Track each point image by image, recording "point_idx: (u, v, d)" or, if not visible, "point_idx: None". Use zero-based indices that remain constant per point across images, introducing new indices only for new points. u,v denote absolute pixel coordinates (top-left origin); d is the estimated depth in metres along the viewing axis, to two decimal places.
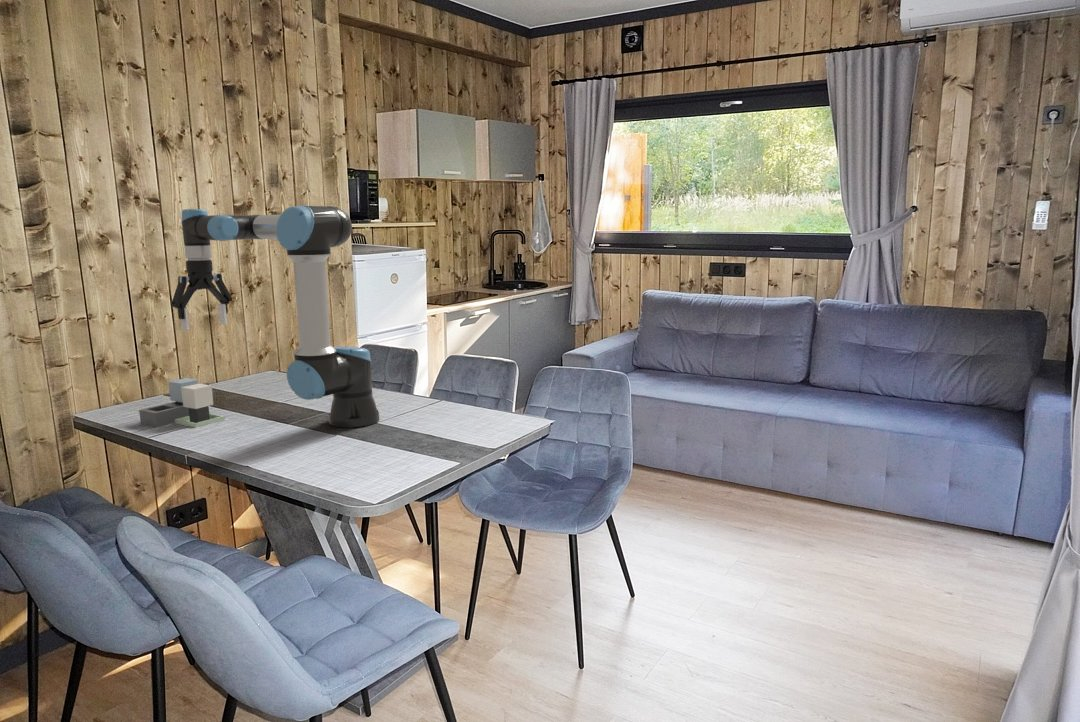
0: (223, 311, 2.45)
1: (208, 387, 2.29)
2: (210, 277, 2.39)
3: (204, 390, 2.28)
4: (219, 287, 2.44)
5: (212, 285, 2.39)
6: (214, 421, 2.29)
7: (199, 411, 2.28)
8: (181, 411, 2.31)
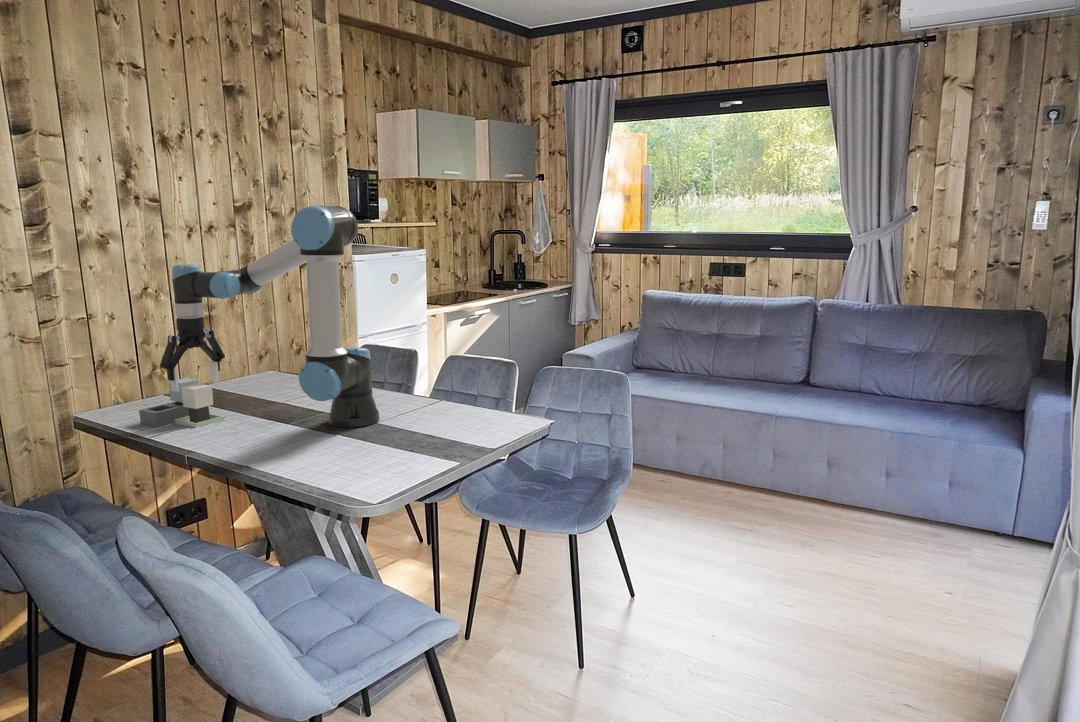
0: (215, 369, 2.33)
1: (208, 387, 2.29)
2: (202, 335, 2.28)
3: (204, 390, 2.28)
4: (211, 344, 2.33)
5: (204, 343, 2.28)
6: (214, 421, 2.29)
7: (199, 411, 2.28)
8: (181, 411, 2.31)
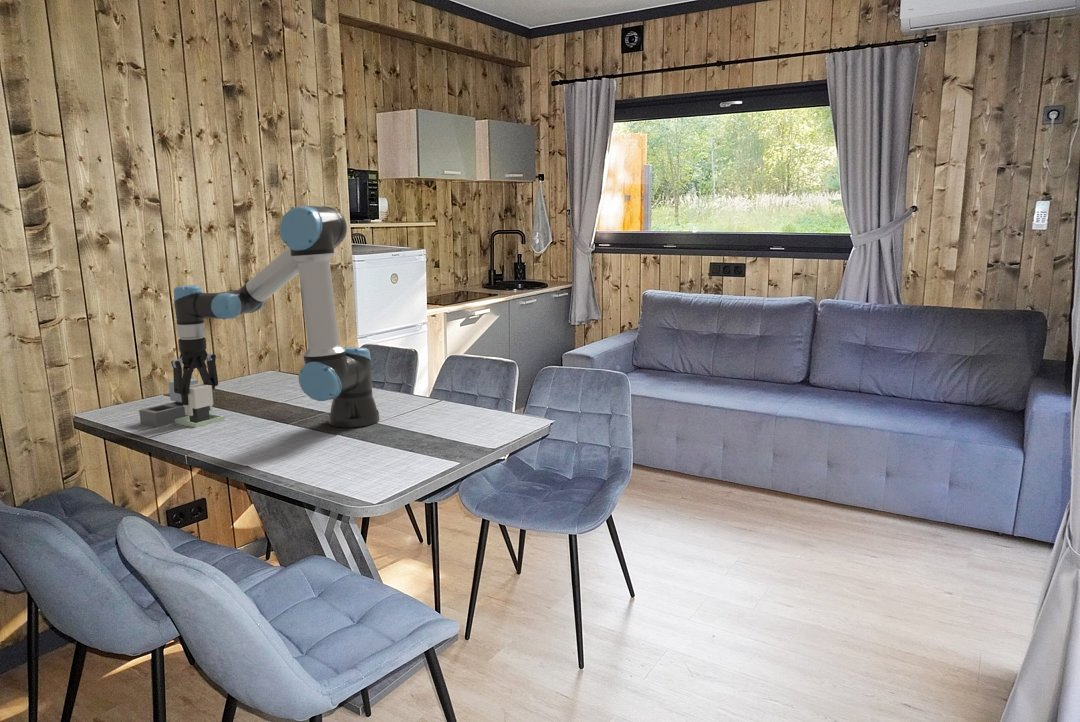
0: None
1: (208, 387, 2.29)
2: (204, 355, 2.29)
3: (204, 390, 2.28)
4: (209, 368, 2.33)
5: (204, 365, 2.28)
6: (214, 421, 2.29)
7: (199, 411, 2.28)
8: (181, 411, 2.31)
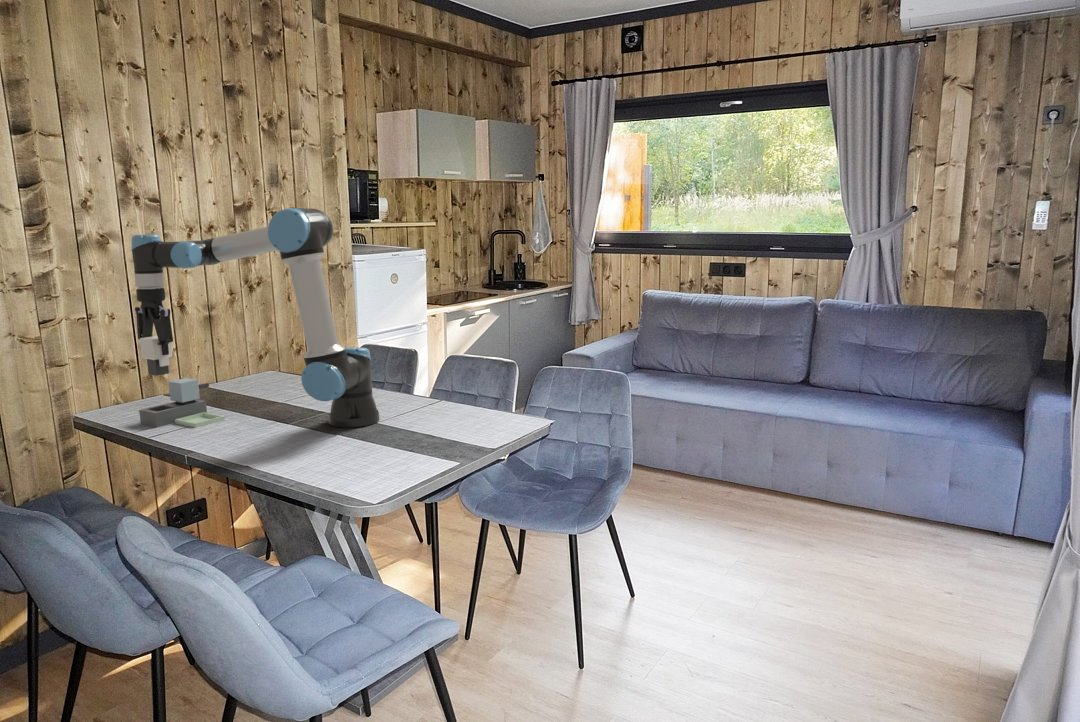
0: None
1: (149, 340, 2.22)
2: (154, 307, 2.22)
3: (147, 342, 2.23)
4: None
5: (151, 318, 2.22)
6: (214, 421, 2.29)
7: (148, 362, 2.26)
8: (181, 411, 2.31)
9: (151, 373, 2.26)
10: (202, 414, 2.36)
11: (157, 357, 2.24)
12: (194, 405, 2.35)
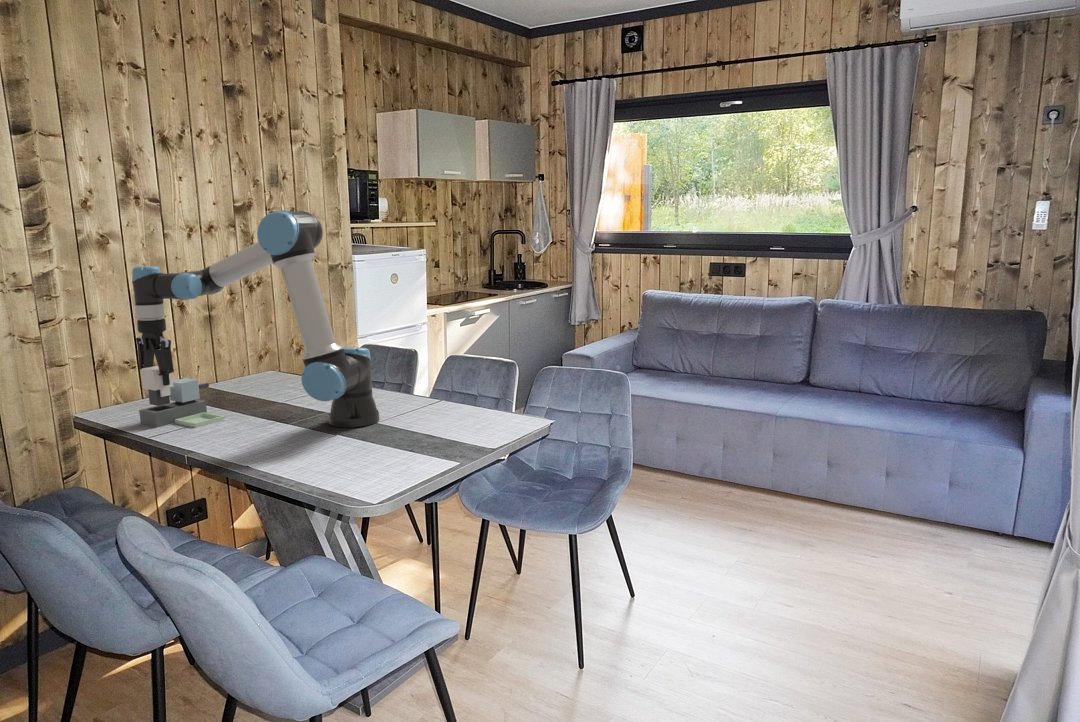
0: None
1: (150, 371, 2.24)
2: (155, 338, 2.23)
3: (148, 372, 2.25)
4: None
5: (152, 349, 2.24)
6: (214, 421, 2.29)
7: (149, 392, 2.28)
8: (181, 411, 2.31)
9: (152, 403, 2.28)
10: (202, 414, 2.36)
11: (158, 387, 2.25)
12: (194, 405, 2.35)
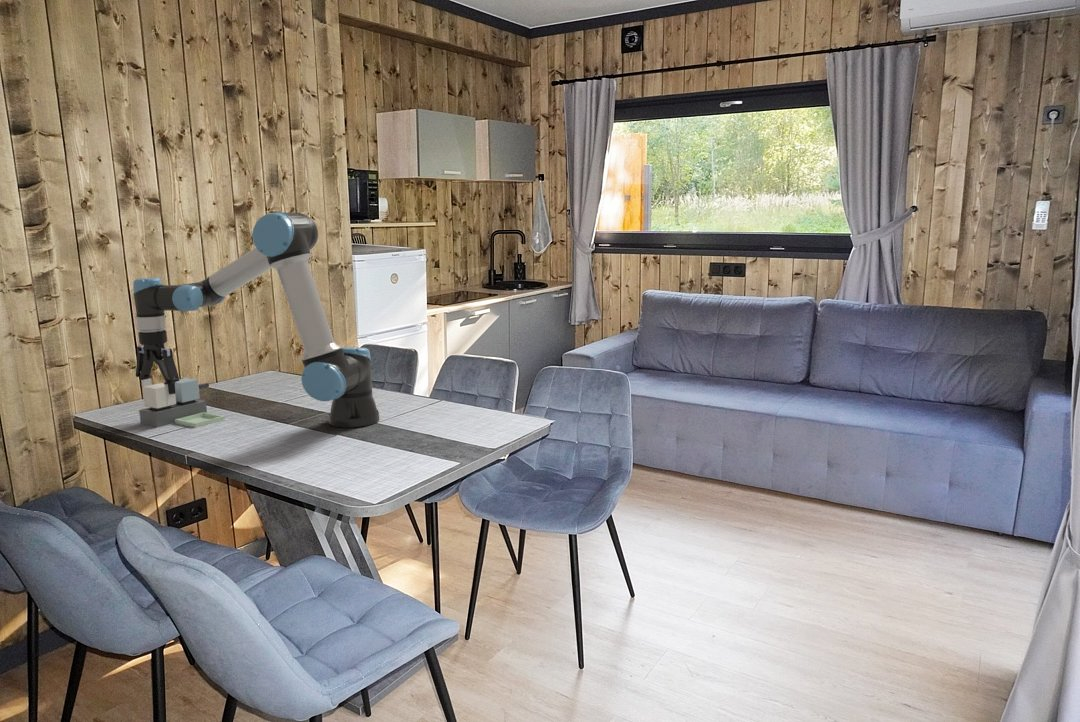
0: None
1: (152, 389, 2.25)
2: (156, 350, 2.24)
3: (150, 391, 2.26)
4: None
5: (155, 360, 2.24)
6: (214, 421, 2.29)
7: (152, 409, 2.29)
8: (181, 411, 2.31)
9: None
10: (202, 414, 2.36)
11: (160, 405, 2.26)
12: (194, 405, 2.35)
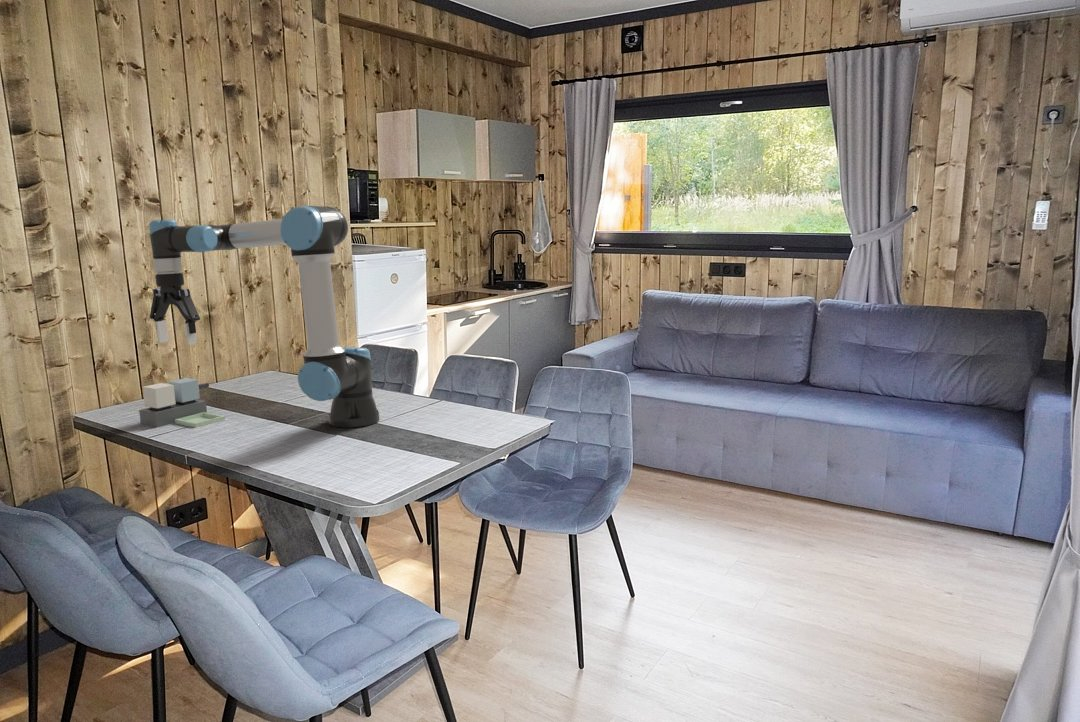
0: None
1: (152, 389, 2.25)
2: (174, 292, 2.24)
3: (150, 391, 2.26)
4: None
5: (173, 301, 2.23)
6: (214, 421, 2.29)
7: (152, 409, 2.29)
8: (181, 411, 2.31)
9: None
10: (202, 414, 2.36)
11: (160, 405, 2.26)
12: (194, 405, 2.35)
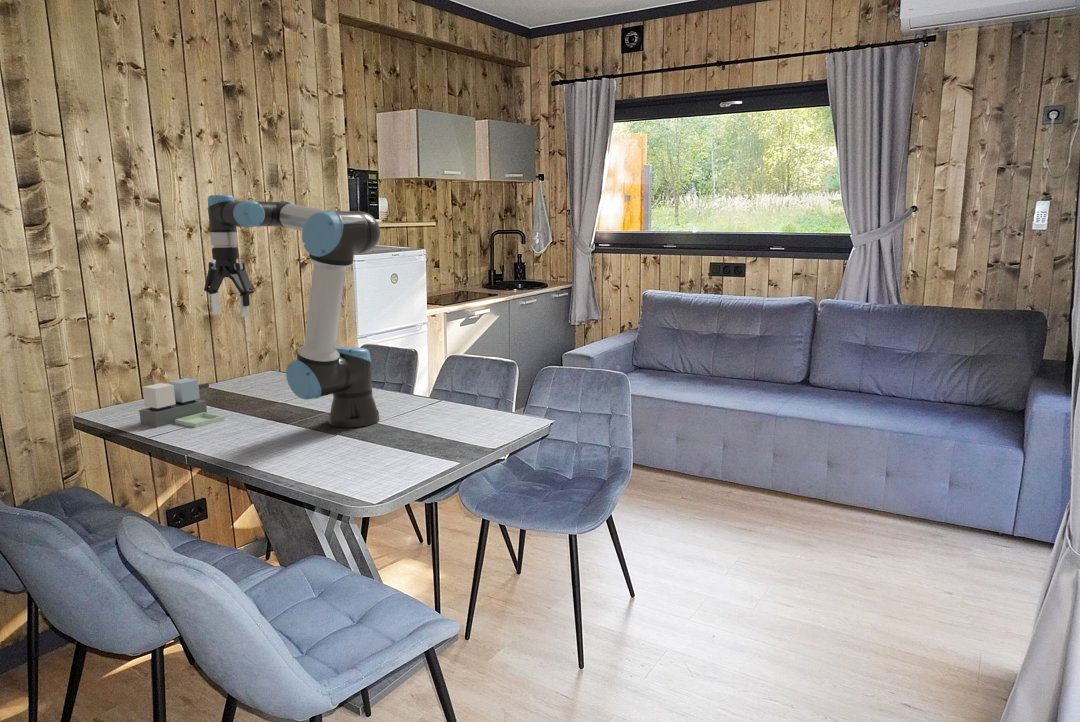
0: None
1: (152, 389, 2.25)
2: (229, 266, 2.30)
3: (150, 391, 2.26)
4: None
5: (228, 274, 2.30)
6: (214, 421, 2.29)
7: (152, 409, 2.29)
8: (181, 411, 2.31)
9: None
10: (202, 414, 2.36)
11: (160, 405, 2.26)
12: (194, 405, 2.35)
